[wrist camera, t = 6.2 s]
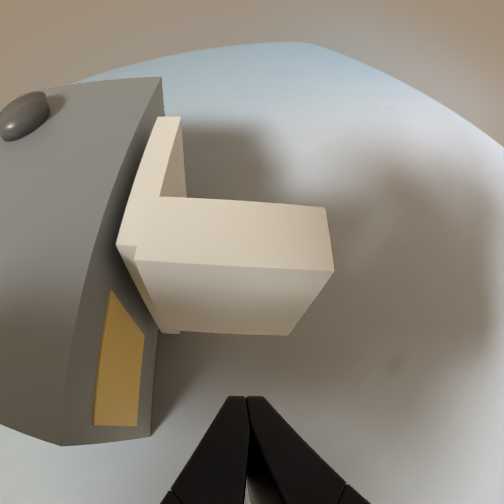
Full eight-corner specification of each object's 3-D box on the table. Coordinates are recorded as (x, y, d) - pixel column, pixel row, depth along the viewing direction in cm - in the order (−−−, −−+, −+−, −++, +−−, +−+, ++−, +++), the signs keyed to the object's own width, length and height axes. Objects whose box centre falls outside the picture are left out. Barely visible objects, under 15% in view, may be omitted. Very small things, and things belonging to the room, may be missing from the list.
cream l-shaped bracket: (272, 356, 13) (334, 270, 6) (159, 350, 12) (97, 257, 6) (269, 240, 16) (304, 105, 9) (174, 234, 15) (155, 96, 9)
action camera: (151, 436, 11) (46, 447, 4) (21, 405, 11) (-122, 353, 3) (181, 188, 19) (171, 45, 11) (78, 186, 18) (35, 63, 10)
